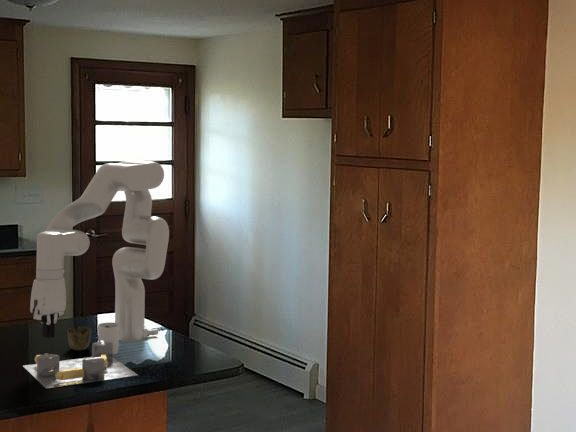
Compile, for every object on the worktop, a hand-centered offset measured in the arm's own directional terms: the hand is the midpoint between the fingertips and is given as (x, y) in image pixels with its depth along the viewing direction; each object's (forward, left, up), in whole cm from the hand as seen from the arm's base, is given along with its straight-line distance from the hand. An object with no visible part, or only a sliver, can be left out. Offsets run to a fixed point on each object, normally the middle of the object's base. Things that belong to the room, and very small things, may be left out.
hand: (48, 337), depth 238 cm
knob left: (-3, +18, -8) cm, 20 cm away
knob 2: (-14, +7, -8) cm, 18 cm away
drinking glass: (-20, -5, -10) cm, 23 cm away
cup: (-13, -12, -10) cm, 20 cm away
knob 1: (+3, +6, -8) cm, 10 cm away
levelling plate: (-6, +10, -10) cm, 15 cm away
